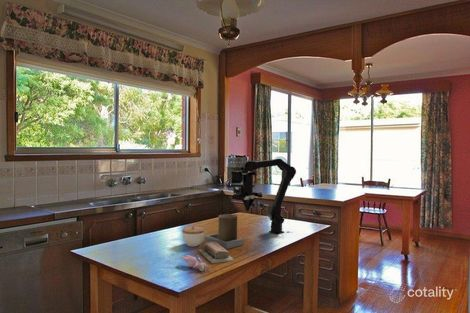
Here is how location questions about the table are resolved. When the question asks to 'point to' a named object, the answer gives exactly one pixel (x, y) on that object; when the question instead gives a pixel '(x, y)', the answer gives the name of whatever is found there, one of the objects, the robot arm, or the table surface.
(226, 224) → the pillar candle
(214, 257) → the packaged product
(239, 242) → the bay
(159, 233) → the table surface
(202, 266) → the rabbit figure
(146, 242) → the table surface
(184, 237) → the lidded jar
